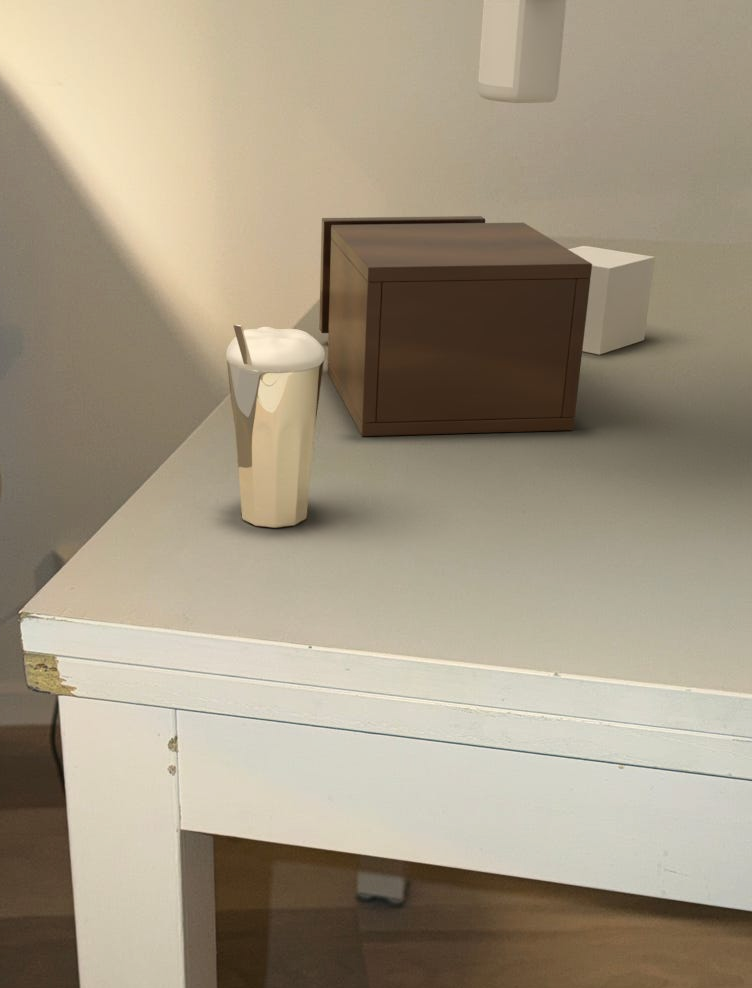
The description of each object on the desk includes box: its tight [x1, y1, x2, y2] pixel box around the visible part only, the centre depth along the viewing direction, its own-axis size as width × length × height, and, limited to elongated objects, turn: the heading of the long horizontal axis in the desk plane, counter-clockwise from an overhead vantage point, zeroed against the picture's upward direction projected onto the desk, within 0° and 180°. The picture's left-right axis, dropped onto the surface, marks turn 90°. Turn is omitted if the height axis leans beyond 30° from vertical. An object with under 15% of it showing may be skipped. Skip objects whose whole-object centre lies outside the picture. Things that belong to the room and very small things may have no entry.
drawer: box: [318, 215, 486, 334], centre depth 90 cm, size 18×11×8 cm, turn 6°
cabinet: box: [327, 222, 592, 437], centre depth 80 cm, size 14×13×10 cm
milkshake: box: [225, 323, 326, 529], centre depth 62 cm, size 4×5×10 cm
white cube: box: [567, 245, 656, 356], centre depth 95 cm, size 6×6×6 cm
